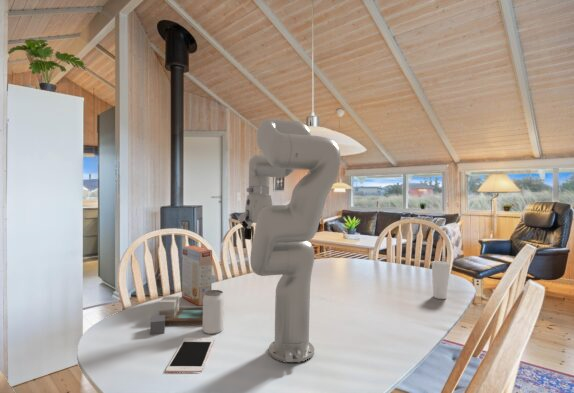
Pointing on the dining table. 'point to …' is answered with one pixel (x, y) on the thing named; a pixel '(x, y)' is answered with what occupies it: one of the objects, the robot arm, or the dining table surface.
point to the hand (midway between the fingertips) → (258, 238)
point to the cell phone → (191, 355)
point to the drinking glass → (440, 278)
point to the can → (213, 311)
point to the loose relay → (157, 324)
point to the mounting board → (180, 312)
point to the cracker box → (196, 273)
